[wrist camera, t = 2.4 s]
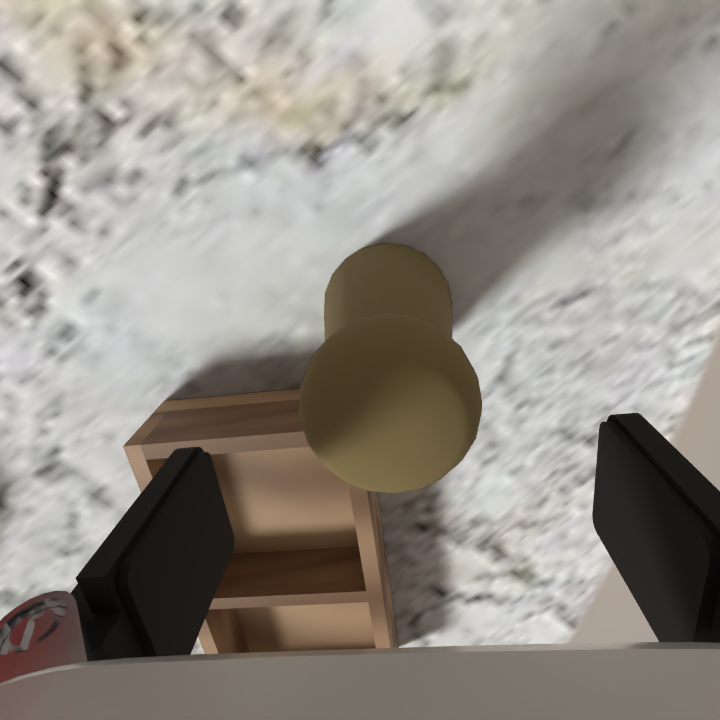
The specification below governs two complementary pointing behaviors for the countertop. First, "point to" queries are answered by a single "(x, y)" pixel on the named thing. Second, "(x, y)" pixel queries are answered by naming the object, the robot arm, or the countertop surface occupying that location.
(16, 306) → the countertop surface
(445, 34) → the countertop surface
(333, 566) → the wooden divided tray
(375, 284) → the cork
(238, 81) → the countertop surface
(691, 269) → the countertop surface
